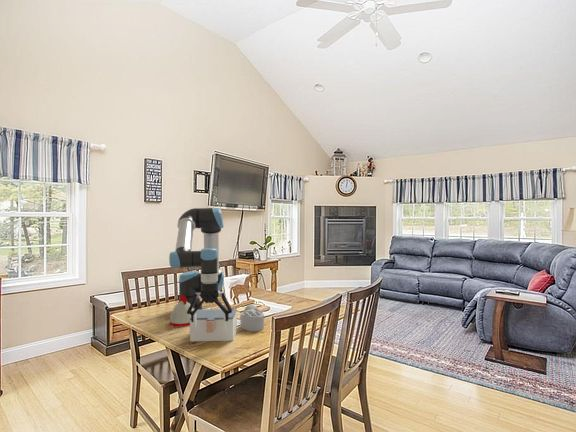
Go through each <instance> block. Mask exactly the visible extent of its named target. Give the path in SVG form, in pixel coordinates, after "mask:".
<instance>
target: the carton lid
mask: <svg viewBox="0 0 576 432" xmlns="http://www.w3.org/2000/svg"><path fill="white" fill-rule="evenodd" d="M226 309H227V308H226ZM227 310H228V309H227ZM237 310H238V309H237V308H232V313H229V314H228V315H229V319H233V318H234V316H235V313H236V311H237ZM237 312H238V311H237ZM195 314H197V320H207V321H206V333H213V332H214V320H215V319H224V312H223V311H222V310H221V309H220V308H217V309H216V308H213V309H207V308H206V309H205V308H204V309H203V308H202V309H201V310H197V311H196V312H195ZM190 320H191V317H190Z"/></svg>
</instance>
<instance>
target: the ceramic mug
mask: <svg viewBox="0 0 576 432" xmlns="http://www.w3.org/2000/svg"><path fill="white" fill-rule="evenodd" d="M250 309H254V310H257V309H259V308H258V307H257V306H256V305H254V304H248V305H247V306H245V308H244V310H243V312H244V311H245V310H250ZM265 317H266V316H265V315H264V318H265Z"/></svg>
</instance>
